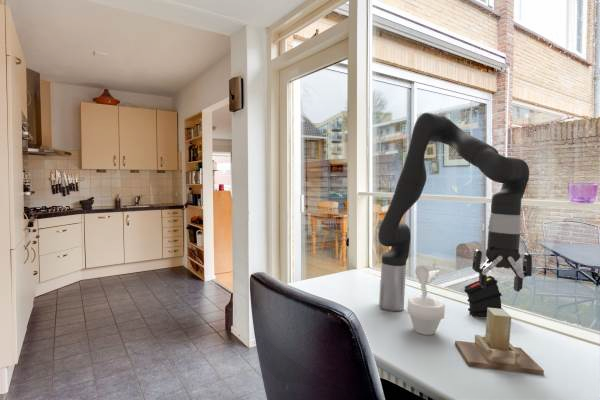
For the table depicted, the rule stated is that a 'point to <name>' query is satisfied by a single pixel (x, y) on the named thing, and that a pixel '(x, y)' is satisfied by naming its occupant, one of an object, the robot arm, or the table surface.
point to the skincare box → (498, 329)
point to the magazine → (483, 297)
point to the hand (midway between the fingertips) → (499, 289)
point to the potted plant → (425, 304)
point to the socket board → (497, 357)
